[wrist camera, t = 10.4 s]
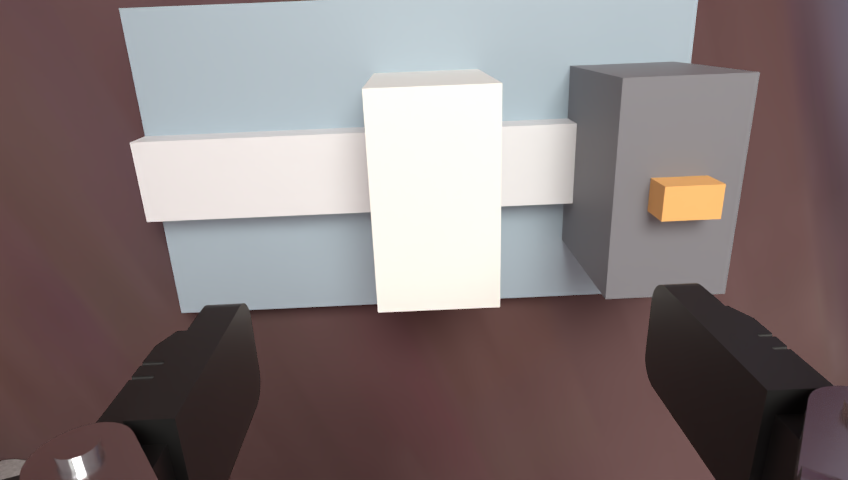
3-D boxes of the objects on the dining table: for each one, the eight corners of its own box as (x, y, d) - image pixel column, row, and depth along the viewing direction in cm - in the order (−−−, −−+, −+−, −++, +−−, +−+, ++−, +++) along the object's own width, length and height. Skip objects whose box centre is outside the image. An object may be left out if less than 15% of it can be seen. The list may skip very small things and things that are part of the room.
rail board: (135, 9, 25) (-10, -1, 16) (683, -13, 25) (826, -34, 17) (192, 299, 30) (104, 410, 21) (651, 278, 30) (749, 379, 21)
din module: (373, 72, 25) (361, 88, 18) (478, 69, 25) (502, 83, 18) (384, 246, 27) (378, 312, 21) (478, 242, 28) (499, 307, 21)
